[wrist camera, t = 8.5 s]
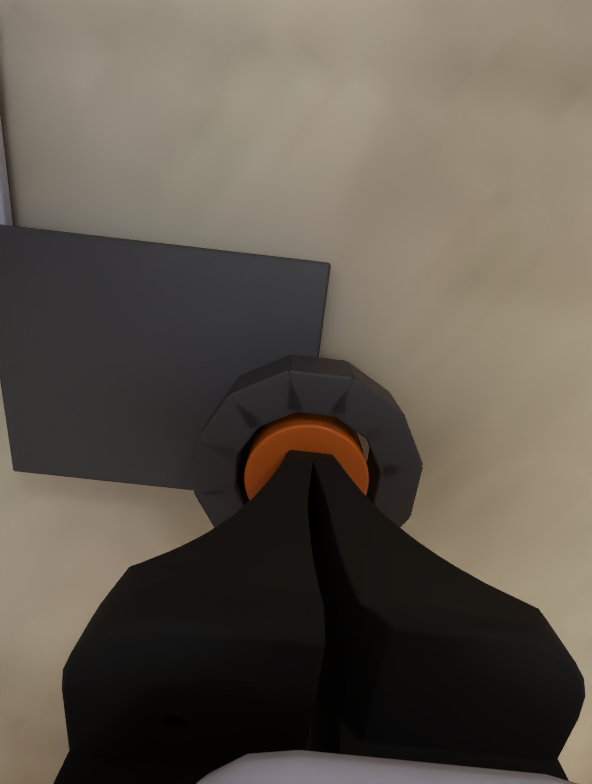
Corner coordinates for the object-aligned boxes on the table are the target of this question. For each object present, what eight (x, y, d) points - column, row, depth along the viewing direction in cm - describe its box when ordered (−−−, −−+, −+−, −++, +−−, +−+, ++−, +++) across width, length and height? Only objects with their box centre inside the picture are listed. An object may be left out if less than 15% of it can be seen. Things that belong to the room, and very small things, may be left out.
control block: (47, 477, 15) (-24, 536, 12) (18, 226, 12) (-87, 213, 9) (376, 512, 16) (395, 580, 12) (426, 274, 13) (470, 278, 9)
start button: (247, 494, 13) (239, 528, 12) (255, 396, 12) (248, 418, 10) (351, 505, 13) (358, 540, 12) (369, 409, 12) (379, 432, 10)
